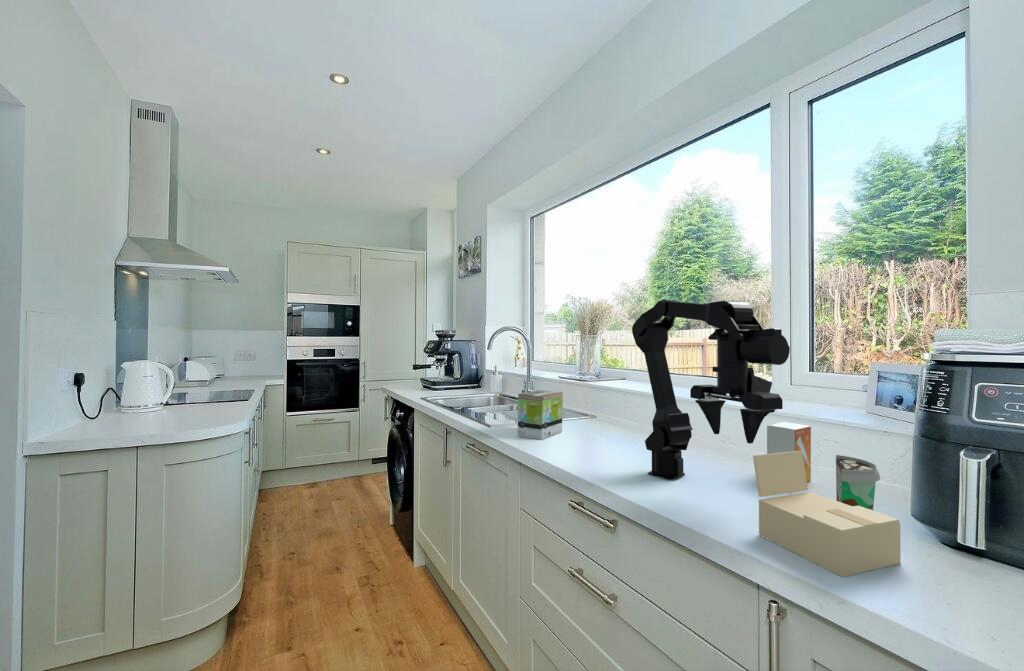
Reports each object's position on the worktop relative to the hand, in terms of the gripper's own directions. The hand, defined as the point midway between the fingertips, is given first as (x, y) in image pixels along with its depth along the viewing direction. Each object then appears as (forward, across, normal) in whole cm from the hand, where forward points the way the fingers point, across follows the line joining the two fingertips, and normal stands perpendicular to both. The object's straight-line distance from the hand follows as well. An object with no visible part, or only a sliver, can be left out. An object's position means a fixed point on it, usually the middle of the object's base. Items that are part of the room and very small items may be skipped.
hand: (732, 438), depth 91 cm
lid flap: (+3, -13, +2) cm, 13 cm away
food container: (+13, -14, -16) cm, 25 cm away
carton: (+13, -21, +2) cm, 24 cm away
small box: (+13, +6, -23) cm, 27 cm away
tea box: (+13, +71, +14) cm, 74 cm away
